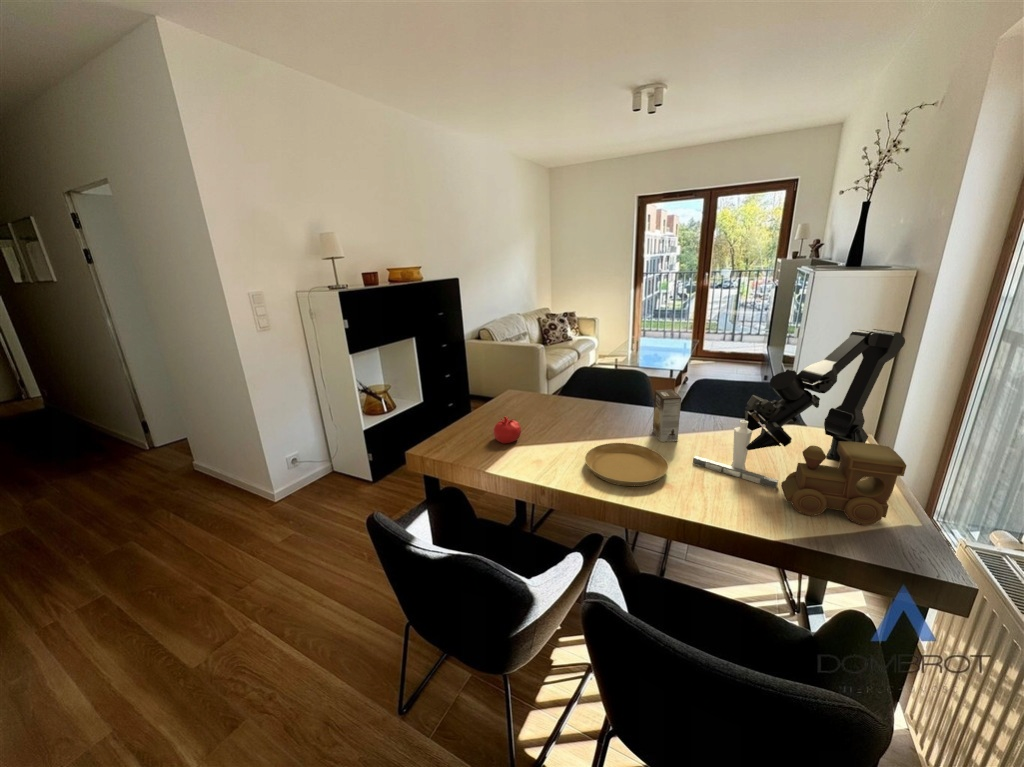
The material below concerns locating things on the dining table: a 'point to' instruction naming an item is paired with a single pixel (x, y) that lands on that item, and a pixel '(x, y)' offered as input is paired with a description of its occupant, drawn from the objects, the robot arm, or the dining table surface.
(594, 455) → the plant saucer
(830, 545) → the dining table surface
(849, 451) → the wooden toy train
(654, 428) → the coffee box
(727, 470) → the rail
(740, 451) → the cream angular vase
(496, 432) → the pomegranate
